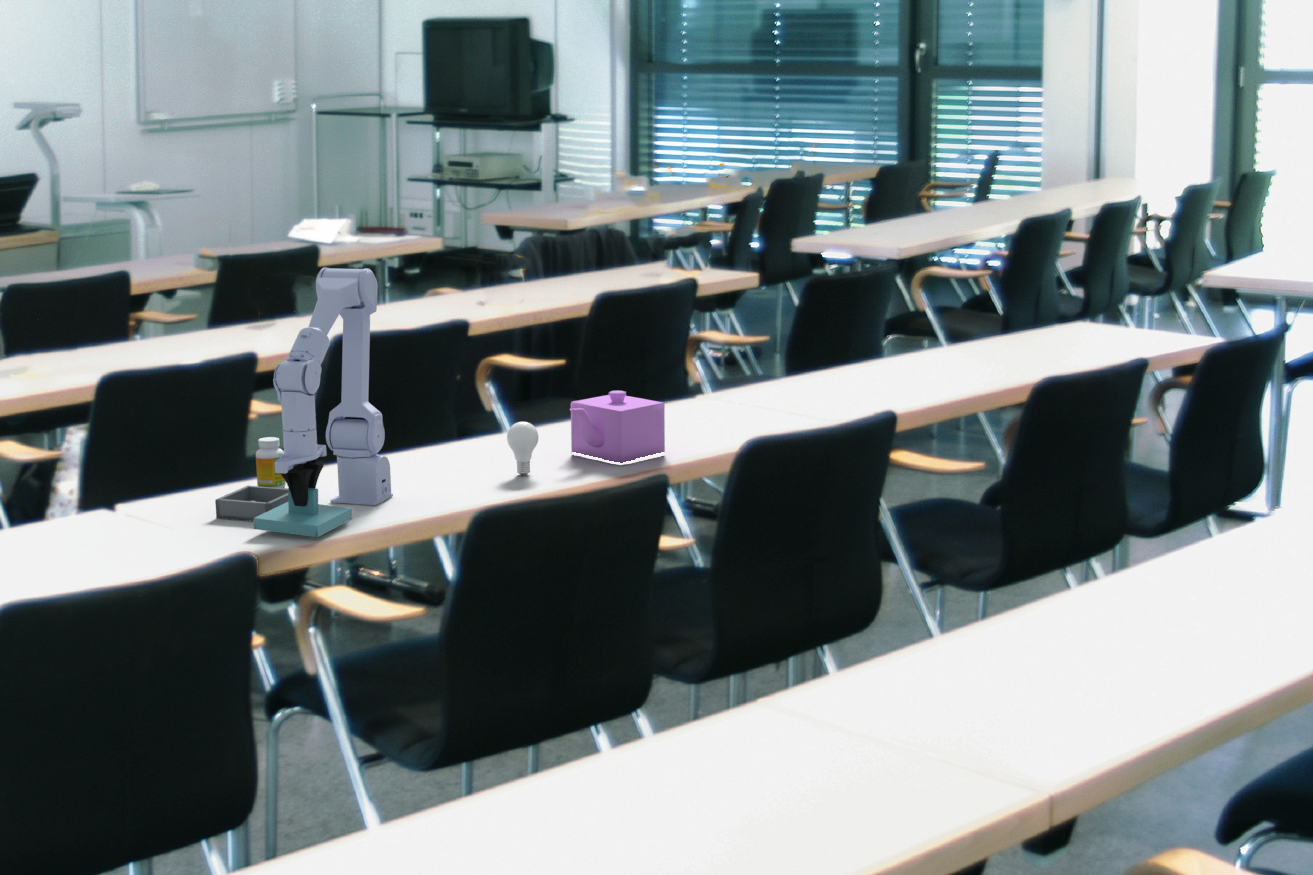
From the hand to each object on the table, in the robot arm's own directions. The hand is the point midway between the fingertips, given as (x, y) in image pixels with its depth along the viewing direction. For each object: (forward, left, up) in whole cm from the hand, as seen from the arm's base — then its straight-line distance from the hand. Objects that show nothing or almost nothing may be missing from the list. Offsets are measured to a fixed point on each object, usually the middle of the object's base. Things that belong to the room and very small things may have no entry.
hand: (303, 504), depth 276 cm
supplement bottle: (+22, -26, -5) cm, 34 cm away
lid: (0, 0, -4) cm, 4 cm away
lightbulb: (-22, -49, -5) cm, 54 cm away
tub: (+14, -8, -5) cm, 17 cm away
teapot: (-34, -70, -5) cm, 78 cm away
